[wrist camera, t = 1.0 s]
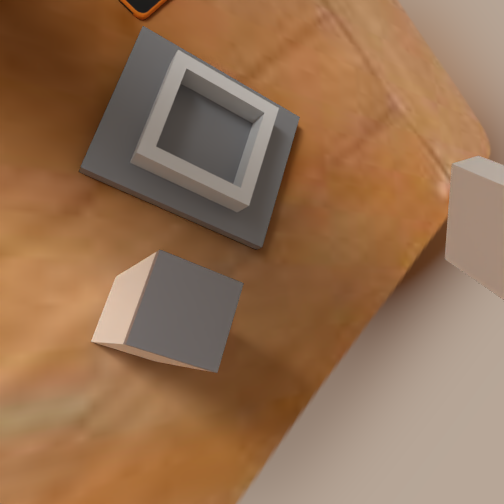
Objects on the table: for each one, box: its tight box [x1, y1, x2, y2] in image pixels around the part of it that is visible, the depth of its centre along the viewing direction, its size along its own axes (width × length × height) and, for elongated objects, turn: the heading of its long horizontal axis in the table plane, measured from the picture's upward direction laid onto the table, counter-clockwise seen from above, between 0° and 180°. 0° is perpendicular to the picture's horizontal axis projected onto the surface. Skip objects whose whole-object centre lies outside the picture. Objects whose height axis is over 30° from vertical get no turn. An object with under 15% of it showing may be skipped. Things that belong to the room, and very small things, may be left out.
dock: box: [79, 26, 300, 250], centre depth 34 cm, size 14×12×3 cm
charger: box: [91, 250, 244, 373], centre depth 26 cm, size 4×4×11 cm
